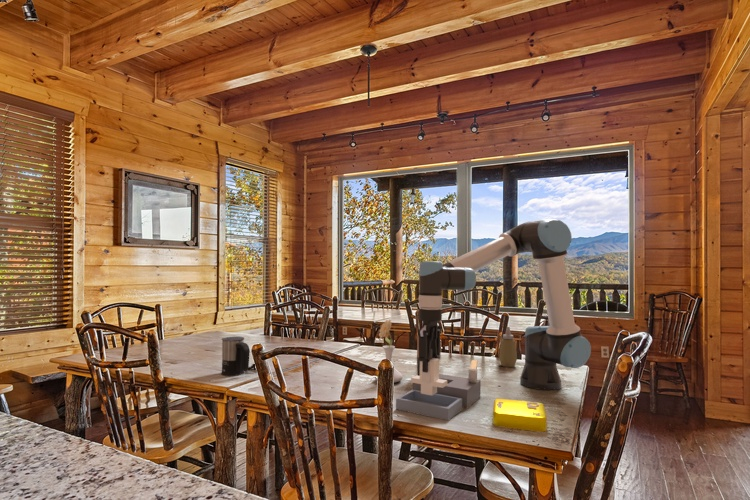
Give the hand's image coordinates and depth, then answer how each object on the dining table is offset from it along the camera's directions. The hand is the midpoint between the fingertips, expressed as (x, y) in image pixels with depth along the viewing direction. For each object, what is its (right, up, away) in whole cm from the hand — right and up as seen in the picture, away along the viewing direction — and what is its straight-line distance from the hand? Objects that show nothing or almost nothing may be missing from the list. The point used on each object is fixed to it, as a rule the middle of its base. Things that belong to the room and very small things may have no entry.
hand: (429, 380), depth 143 cm
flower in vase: (-12, -10, +32) cm, 36 cm away
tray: (0, -9, 0) cm, 9 cm away
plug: (0, -4, 0) cm, 4 cm away
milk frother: (-74, -10, +44) cm, 87 cm away
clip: (+18, -4, +18) cm, 26 cm away
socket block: (+8, -10, +13) cm, 18 cm away
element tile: (+26, -10, -9) cm, 30 cm away
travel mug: (+3, -11, +39) cm, 40 cm away
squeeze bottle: (+44, -12, +62) cm, 77 cm away
